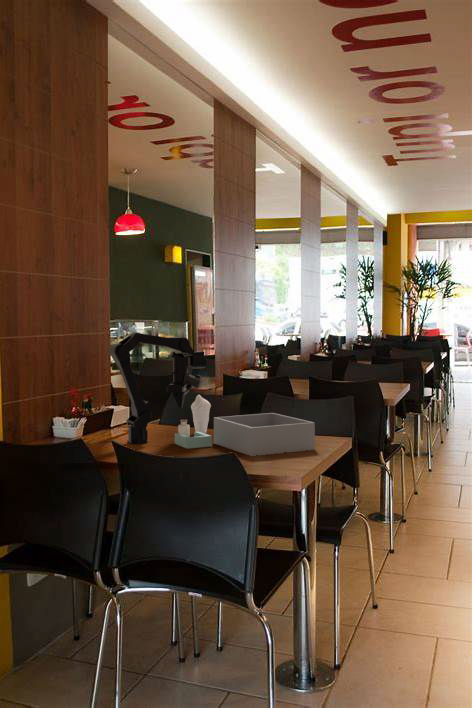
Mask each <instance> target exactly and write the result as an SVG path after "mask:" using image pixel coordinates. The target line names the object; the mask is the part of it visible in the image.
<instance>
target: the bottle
mask: <svg viewBox="0 0 472 708" xmlns="http://www.w3.org/2000/svg"><path fill="white" fill-rule="evenodd" d="M187 423H188V419H180V424H178V426H177V427H178V429H177V431H178V432H177V433H180V434H183V435H185V436H188V437H191V436H190V434H191V431H190V430H191V429H190V424H187Z"/></svg>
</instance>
